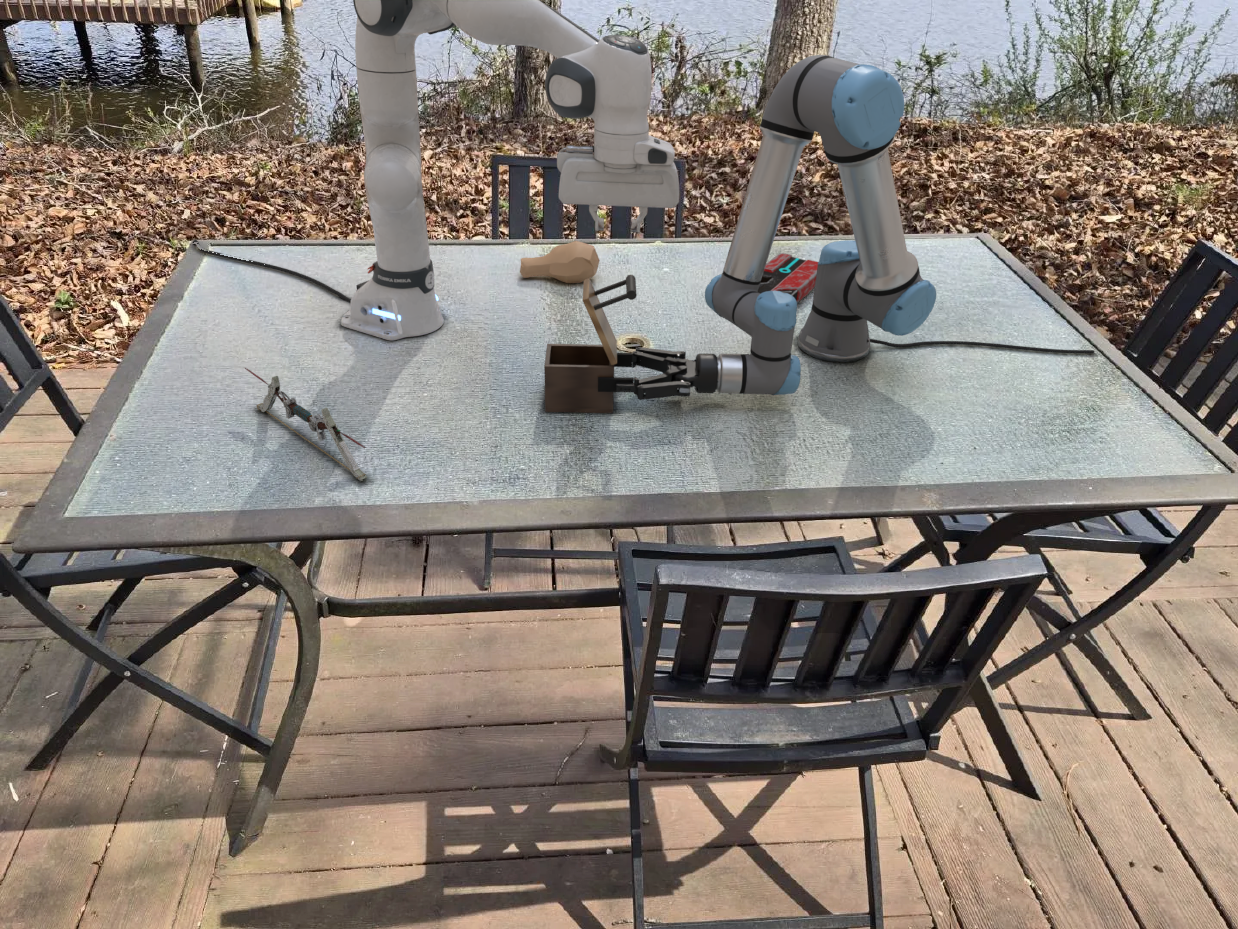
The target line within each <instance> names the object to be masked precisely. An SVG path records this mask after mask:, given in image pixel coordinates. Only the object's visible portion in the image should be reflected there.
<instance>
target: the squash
mask: <svg viewBox="0 0 1238 929" xmlns="http://www.w3.org/2000/svg"><path fill="white" fill-rule="evenodd" d="M599 265H600V257H599V255H598V252H597V250H596V248H595V246H594V245H592V244H589V243H585V242H582V241H579V240H574V241H570V242H568V243H564V244H559V245H556V246H555V247H553V248H551V250H550V251H549V252H548V253H547V254H545V255H542V256H534V257H522V258H520V268H519V273H520V275H521V276H522V278H523V279H526V278H527V279H528V278H533V277H548V278H553V279H555V280H558V281H559V282H562V283H565V284H580V283H584V280H585V279H588V278H590V279H591V278H592V277H595V275H596V274H597V273H598V272H597V271H598V269H599Z"/></svg>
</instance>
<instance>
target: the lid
mask: <svg viewBox="0 0 1238 929" xmlns="http://www.w3.org/2000/svg"><path fill="white" fill-rule="evenodd" d="M636 280H637V279H636V276H635V275H633V274H628V275H626V277H625V279H623V280H621V281H618V282H615V283H613V284H610V285H607V286H605V287H602V288H599V289H595V287H594V285H593V283H592V280H591V278H588V279H585V280H584V281H583V286H582V302H583V305H584V307H585V309H586V311H587V314H588V316H589V318H590V321H591V322H592V325H593V327H594V329H595V331H596V332H595V333H596V334H597V336H598V339H599V341H600V343H601V345H603V348H604V350H605V352H606V354H607V357H608V359H609V361H610V363H611V365H614V364H617V353H618V342H617V341H618V340H617V338H616V336H615V333H614V331H613V329H612V327H611V324H610V322H609V320H608V318H607V315H606V312H605V310H604V309H603V308H606V307H609V306H611V305H614V304H616V303H618V302H622V301H625V300H630V301H633V300H635V299H636V298H637V296H638V295H637V294H638V293H637V281H636ZM623 286H625V293H623V294H621V295H618V296H615V297H613V298H610V299H608V300H605V301H602V302H600V299H599V295H602V294H605V293H608V292H610V291H613V290H615V289H618V288H621V287H623Z"/></svg>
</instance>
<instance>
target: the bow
mask: <svg viewBox="0 0 1238 929" xmlns="http://www.w3.org/2000/svg"><path fill="white" fill-rule="evenodd" d="M244 369H245V371H247V372H249V373H250V374H252V375H253V376H254V377H255V378H257V379H258V380H260V381H261V382H262V383H264V384H266V385H267V394H266V395H265V397H263V401H262V402H261V403H259V404H256V408H257V410H258V411H260V412H261V413H267V414H268V415H269V416H271V417H272V418H274V419H275V420H277V422H280V423H281V424H283V425H284V426H285V427H287V428H288V429H290V430H291V431H293V432H294V433H295V434H296V435H298V436H299V437H301V438H303V439H304V440H305V441H307V442H308V443H310V444H311V445H312V446H314V447H315V448H317V449H318V450H320V451H321V452H322V453H324V454H325V455H327V456H328V457H329V458H330V459H332V460H334V461H335V462H336V463H338V464H339V465H341V466H343V467H344V468H345V469H346V470H348V471H349V472H351V473H352V475H353V476H354V477H355V478H356V480H358V481H360V482H363V481H364V479H368V476H367V475H366V473H365V472H363V470H362V469H361V468H360V467H359V466H358V464H357V462H356V460H355V458H354V455H353V454H352V452H351V450H350V449H349V447H348V445H347V444H346V442H345V439H344V438H343V437H345V438H346V439H349V440H350V441H351V442H353V443H355V444H356V445H357V446H359V447H362V448H363V449H366V446H365V445H363V443H361V442H360V441H358V440H356V439H354V438H353V437H351V436H349V435H348V434H345V433H343V432H341V429H340V428H339V427H338V425H337V423H336V422H335V420H334V418H333V416H332V415H331V412H330V410H329V408H328V407H324V408H321V409H320V410H321V414H320V413H318V414H316V415H312V413H311V412H310V411H309V410H308V409H306V408H304V407H303V406H302V405H299V404H298V403H297V399H296V397H291V398H290V397H289V396H288V394H287V393H285V392H284V391H283V390H281V384H280V383H281V382H280V377H279V375H274V376H271V381H270V383H268V382H267V381H265V380H264V379H263V378H262V377H260V376H259V375H258V374H256V373H254V372H253V371H252V370H251V369H248V368H247V367H244ZM277 398H278V399H279V401H280V402H281V403H282V404H283V408H284V409H285V418H286V419H287V420H290V419H292V418H295V416H296V417H297V418H299V419H301V420H303V421H304V422H305V423H308V427H309V429H310V430H311V431H312V432H313V433H316V435H317V436H316V437H317V439H318V441H320V442H322V441H325V440H327V435H326V432H325V430H328V432H329V434H330V436H331V437H332V440H333V442H334V444H335V445H336V448H337V450H338V451H339V453H340V455H341V457H342V458H343V461H344V462H345V464H346V465H344V464H343V463H342V462H341V461H340V460H338V459H337V458H335V457H334V456H332V455H330V454H329V453H328V452H326V451H325V450H323V449H322V448H321V447H319V446H317V445H316V444H314V443H313V442H311V441H310V440H309V439H307V438H306V437H305V436H303V435H302V434H301V433H299V432H297V431H296V430H294V429H293V428H292V427H290V426H289V425H288V424H286V423H285V422H283V420H280V419H278V418H277V417H276V416H275V415H273V414H272V413H270V412H269V411H270V410H271V409H272V408H273V406H274V404H275V402H276V400H277Z"/></svg>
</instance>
